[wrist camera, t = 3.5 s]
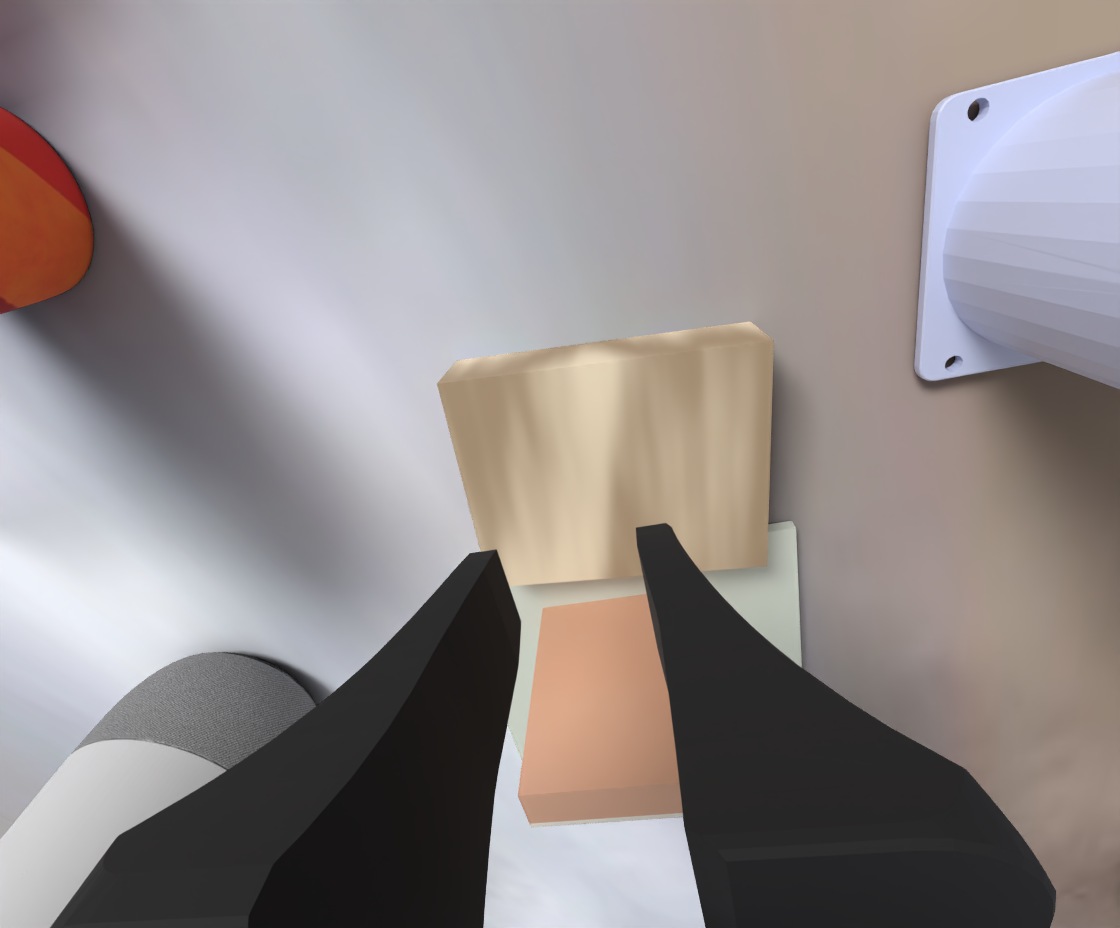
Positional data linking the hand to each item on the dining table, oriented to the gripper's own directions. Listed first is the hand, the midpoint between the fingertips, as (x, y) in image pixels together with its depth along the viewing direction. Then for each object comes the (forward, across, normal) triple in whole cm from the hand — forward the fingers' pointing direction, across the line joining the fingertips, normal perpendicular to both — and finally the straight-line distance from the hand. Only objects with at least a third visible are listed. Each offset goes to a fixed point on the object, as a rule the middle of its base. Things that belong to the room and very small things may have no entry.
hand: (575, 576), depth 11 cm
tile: (+8, 0, +9) cm, 12 cm away
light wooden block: (+8, +4, +1) cm, 9 cm away
